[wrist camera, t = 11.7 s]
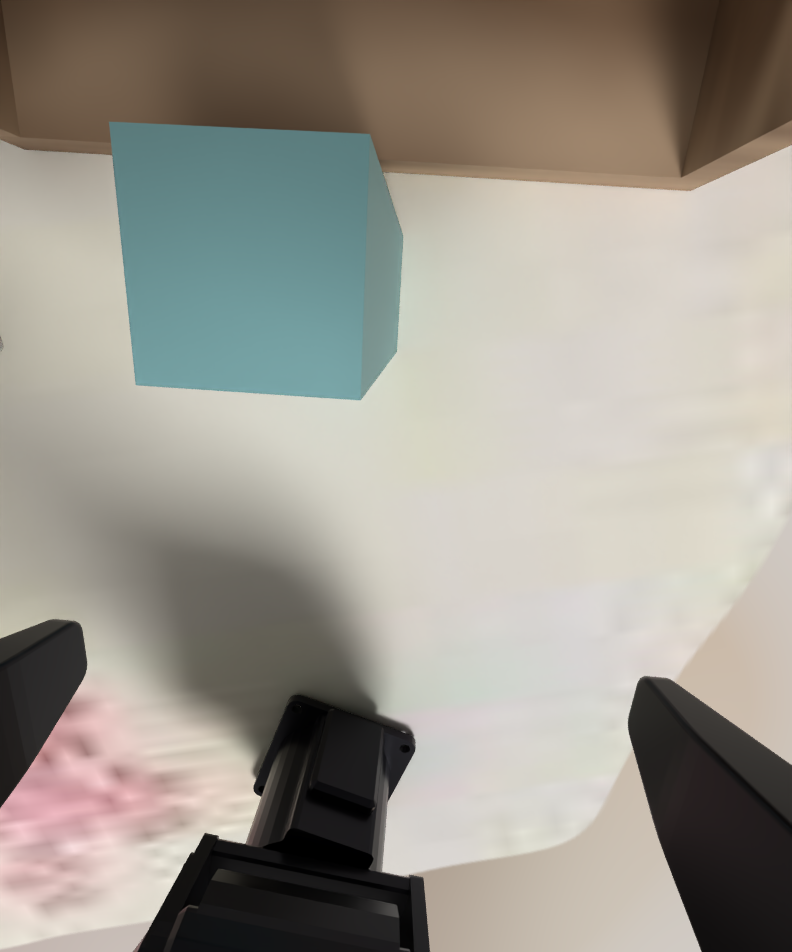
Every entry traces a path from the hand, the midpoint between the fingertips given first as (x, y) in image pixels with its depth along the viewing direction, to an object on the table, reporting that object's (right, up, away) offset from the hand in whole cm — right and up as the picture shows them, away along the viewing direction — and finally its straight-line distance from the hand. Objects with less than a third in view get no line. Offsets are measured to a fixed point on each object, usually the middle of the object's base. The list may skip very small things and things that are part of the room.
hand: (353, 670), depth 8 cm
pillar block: (-1, +10, +11) cm, 15 cm away
